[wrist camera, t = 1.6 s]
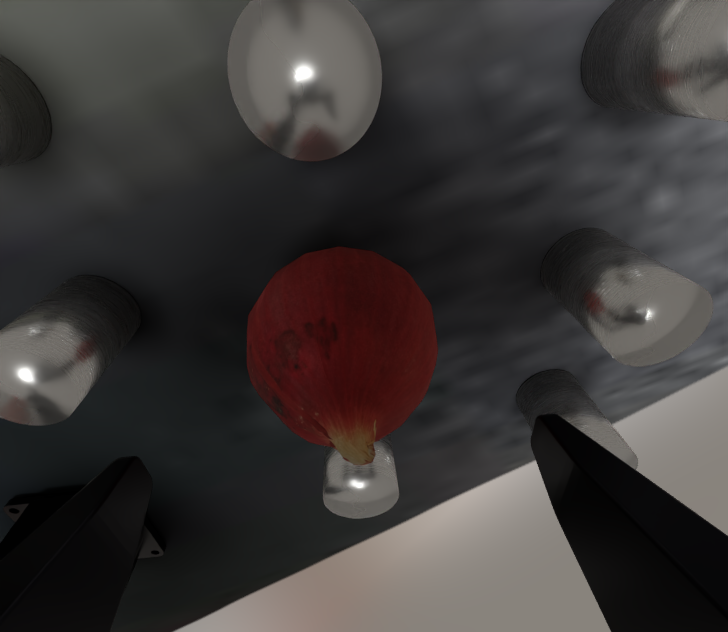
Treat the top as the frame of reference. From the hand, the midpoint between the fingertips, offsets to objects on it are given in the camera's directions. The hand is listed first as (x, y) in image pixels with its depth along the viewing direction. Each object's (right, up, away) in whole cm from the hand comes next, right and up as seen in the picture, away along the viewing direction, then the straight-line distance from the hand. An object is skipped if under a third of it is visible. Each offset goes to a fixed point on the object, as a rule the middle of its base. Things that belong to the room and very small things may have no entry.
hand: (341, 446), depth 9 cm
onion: (0, +4, +7) cm, 8 cm away
